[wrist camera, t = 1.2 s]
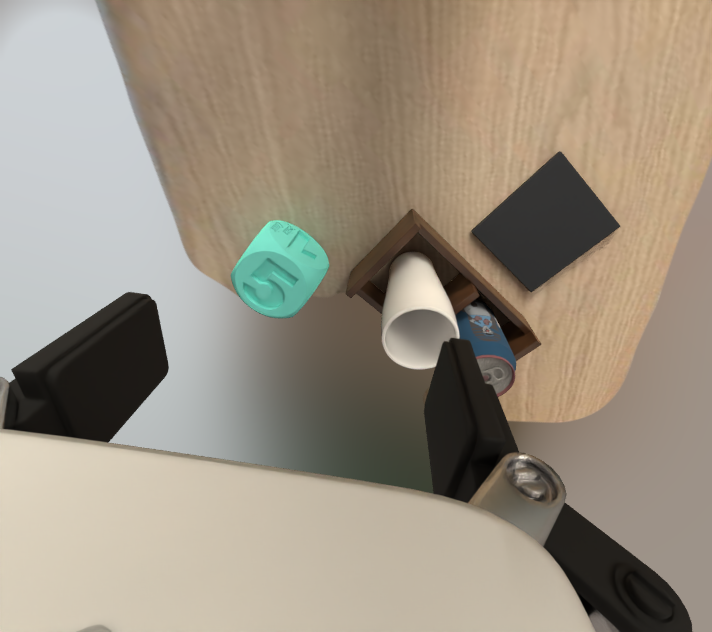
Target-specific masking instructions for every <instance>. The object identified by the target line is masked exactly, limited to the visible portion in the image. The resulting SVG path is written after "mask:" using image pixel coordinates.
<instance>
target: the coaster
mask: <svg viewBox="0 0 712 632" xmlns="http://www.w3.org/2000/svg"><path fill="white" fill-rule="evenodd" d="M619 227H620V225H619V224H618V222H617V221H616V220H615V219H614V217H613V216H612V215H611V214H610V212H609V211H608V210H607V209H606V207H605V206H604V205H603V204H602V202H601V201H600V200H599V199H598V197H597V196H596V195H595V194H594V192H593V191H592V190H591V189H590V187H589V186H588V185H587V184H586V182H585V181H584V180H583V179H582V177H581V176H580V175H579V174H578V172H577V171H576V170H575V169H574V167H573V166H572V165H571V164H570V162H569V161H568V160H567V159H566V157H565V156H564V155H563V154H562V152H558V153H557V154H556V155H555V156H554V157H552V158H551V159H550V160H549V161H548V162H547V163H546V164H545V165H544V166H542V167H541V168H540V169H539V170H538V171H537V172H536V173H535V174H534V175H533V176H531V177H530V178H529V179H528V180H527V181H526V182H525V183H524V184H523V185H521V186H520V187H519V188H518V189H517V190H516V191H515V192H514V193H513V194H511V195H510V196H509V197H508V198H507V199H506V200H505V201H504V202H503V203H502V204H500V205H499V206H498V207H497V208H496V209H495V210H494V211H493V212H492V213H490V214H489V215H488V216H487V217H486V218H485V219H484V220H483V221H482V222H481V223H479V224H478V225H477V226H476V227H475V228H474V229H473V230H472V233H473V234H474V235H475V236H476V237H477V238H478V239H479V240H480V241H481V242H482V243H483V244H484V245H485V246H486V247H487V248H488V249H489V250H490V251H491V252H492V253H493V254H494V255H495V256H496V257H497V258H498V259H499V260H500V261H501V262H502V263H503V264H504V265H505V266H506V267H507V268H508V269H509V270H510V271H511V272H512V273H513V274H514V275H515V276H516V277H517V278H518V279H519V280H520V281H521V282H522V283H523V284H524V285H525V286H526V288H527V289H528V290H529V291H530V292H532V291H534V290H535V289H536V288H538V287H539V286H540V285H542V284H543V283H545V282H546V281H547V280H549V279H550V278H551V277H553V276H554V275H555V274H557V273H558V272H559V271H561V270H562V269H564V268H565V267H566V266H568V265H569V264H570V263H572V262H573V261H574V260H576V259H577V258H578V257H580V256H581V255H582V254H584V253H585V252H587V251H588V250H589V249H591V248H592V247H593V246H595V245H596V244H597V243H599V242H600V241H601V240H603V239H604V238H605V237H607V236H608V235H610V234H611V233H612V232H614V231H615V230H616V229H618V228H619Z"/></svg>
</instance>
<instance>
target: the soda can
mask: <svg viewBox="0 0 712 632" xmlns="http://www.w3.org/2000/svg"><path fill="white" fill-rule="evenodd" d="M455 316H456V320H457V324H458V329H459V335H460V338H459V339H466V340H469V341H470V342H471V345H472V348H473V351H474V353H475V356H476V359H477V362H478V364H479V367H480V370H481V373H482V376H483V378H484V381H485V383H487V384H491V385H492V386H493V387H494V389H495V391H496V394H497V397H499V396H501V395H503V394H504V393H506V392H507V391H508V390H509V389H510V388H511V387H512V385H513V383H514V380H515V370H516V359H515V356H514V354H513V352H512V350H511V348H510V346H509V344H508V342H507V340H506V338H505V336H504V334H503V332H502V330H501V328H500V326H499V324H498V322H497V320H496V318H495V316H494V313H493V312H492V310H491V309H490V307H489V306H487V305H486V304H485V303H483V302H481V301H478V300H474V301H472V302H471V303H470V304H469V305H467V306H466V307H465V308H464V309H462V310H461V311H460V312H459V313H457V314H456V315H455Z"/></svg>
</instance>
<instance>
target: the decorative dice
mask: <svg viewBox="0 0 712 632" xmlns="http://www.w3.org/2000/svg"><path fill="white" fill-rule="evenodd" d="M328 268H329V261H328V257H327V255H326V253H325V251H324V250H323V248H322V247H321V246H320V245H319V244H318V243H317V242H316V241H315V240H314V239H313V238H312V237H311V236H310V235H309V234H307V233H306V232H305V231H303V230H302V229H300V228H298V227H297V226H295V225H293V224H290V223H288V222H285V221H280V220H275V221H270V222H268V223H267V224H266V225H265V227H264V228H263V229H262V230H261V231H260V232H259V234H258V235H257V236H256V237H255V239H254V240H253V241H252V243H251V244H250V245H249V247H248V248H247V250H246V251H245V252H244V254H243V255H242V257H241V258H240V260H239V261H238V263H237V264H236V266H235V268H234V269H233V271H232V273H231V280H232V283H233V286H234V288H235V290H236V292H237V294H238V295H239V297H240V298H241V299H242V300H243V302H244V303H246V304H247V305H248V306H249V307H250V308H252V309H253V310H255V311H256V312H258V313H260V314H262V315H265V316H268V317H272V318H290V317H293V316H294V315H296V313H297V312H298V311H299V310H300V309H301V308H302V307H303V306H304V304H305V303H306V302H307V301H308V299H309V298H310V297H311V295H312V294H313V293H314V291H315V290H316V288H317V287H318V285H319V284H320V282H321V281H322V279H323V278H324V276H325V274H326V272H327V270H328Z"/></svg>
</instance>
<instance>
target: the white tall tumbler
mask: <svg viewBox="0 0 712 632" xmlns="http://www.w3.org/2000/svg"><path fill="white" fill-rule="evenodd" d="M381 331H382V345H383V348H384V350H385V352H386V354H387V355H388V356H389V357H390V359H392V360H393V361H394V362H395V363H397V364H399V365H401V366H403V367H406V368H410V369H420V370H421V369H429V368H433V367H436V364H437V361H438V357H439V354H440V350H441V347H442V344H443V342H444V341H448V342H449V340H450V338H458V339H459V338H460V335H459V329H458V324H457V320H456V316H455V313H454V310H453V307H452V304H451V302H450V300H449V297H448V295H447V293H446V292H445V290H444V288H443V286H442V284H441V282H440V280H439V278H438V276H437V274H436V272H435V270H434V266H433V264H432V262H431V260H430V259H429V258H428V257H427V256H426V255H424V254H422V253H420V252H414V251H411V252H406V253H403V254H401V255H399V256H398V257H397V258H396V259H395V260H394V261H393V263H392V265H391V267H390V273H389V281H388V286H387V291H386V296H385V300H384V305H383V311H382V321H381Z"/></svg>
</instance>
